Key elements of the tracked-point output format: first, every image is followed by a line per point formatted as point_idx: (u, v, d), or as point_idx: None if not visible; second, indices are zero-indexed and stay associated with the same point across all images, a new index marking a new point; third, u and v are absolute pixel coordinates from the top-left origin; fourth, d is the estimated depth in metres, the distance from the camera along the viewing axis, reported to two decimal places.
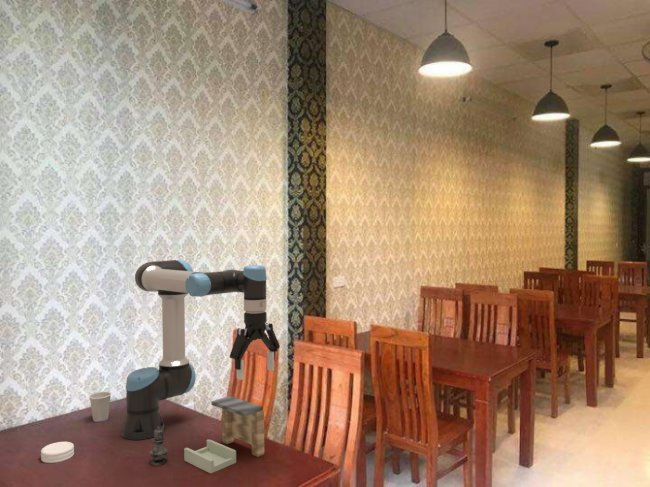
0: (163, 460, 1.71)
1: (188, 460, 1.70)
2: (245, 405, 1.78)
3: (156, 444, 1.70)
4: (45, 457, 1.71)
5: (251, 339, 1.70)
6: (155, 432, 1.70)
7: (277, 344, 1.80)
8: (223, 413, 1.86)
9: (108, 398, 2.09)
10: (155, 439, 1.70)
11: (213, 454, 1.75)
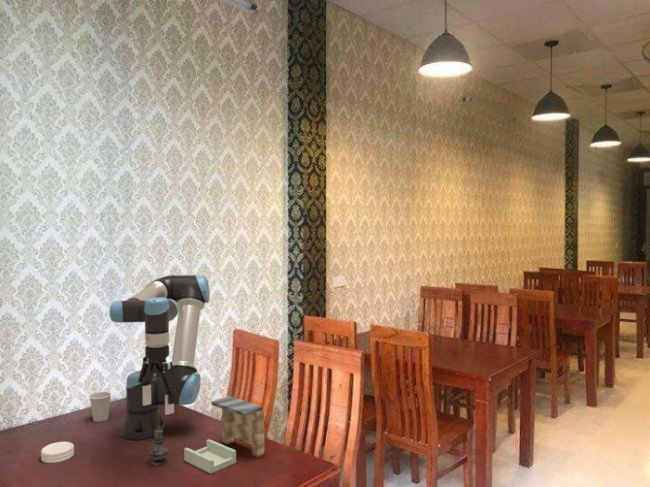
0: (163, 460, 1.71)
1: (188, 460, 1.70)
2: (245, 405, 1.78)
3: (156, 444, 1.70)
4: (45, 457, 1.71)
5: (147, 370, 1.71)
6: (155, 432, 1.70)
7: (170, 388, 1.64)
8: (223, 413, 1.86)
9: (108, 398, 2.09)
10: (155, 439, 1.70)
11: (213, 454, 1.75)
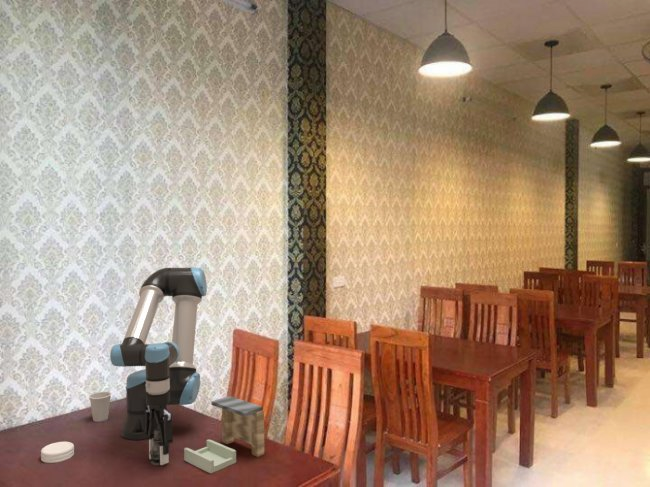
0: None
1: (188, 460, 1.70)
2: (245, 405, 1.78)
3: (156, 444, 1.70)
4: (45, 457, 1.71)
5: (150, 418, 1.71)
6: (155, 432, 1.70)
7: (165, 440, 1.66)
8: (223, 413, 1.86)
9: (108, 398, 2.09)
10: (155, 439, 1.70)
11: (213, 454, 1.75)
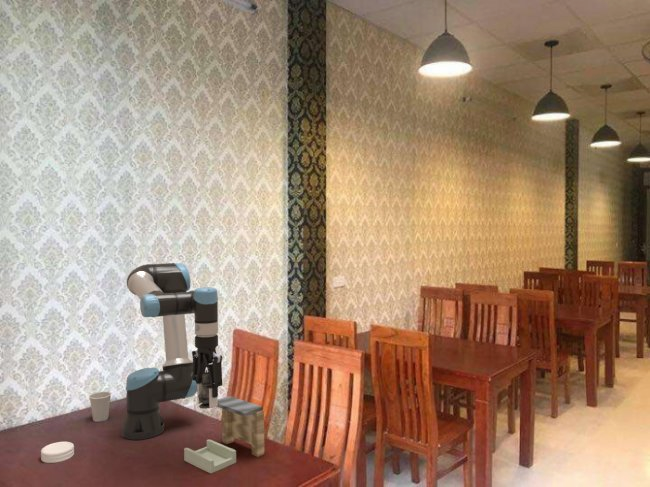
0: None
1: (188, 460, 1.70)
2: (245, 405, 1.78)
3: (204, 388, 1.69)
4: (45, 457, 1.71)
5: (198, 362, 1.70)
6: (204, 375, 1.69)
7: (215, 382, 1.65)
8: (223, 413, 1.86)
9: (108, 398, 2.09)
10: (204, 383, 1.69)
11: (213, 454, 1.75)
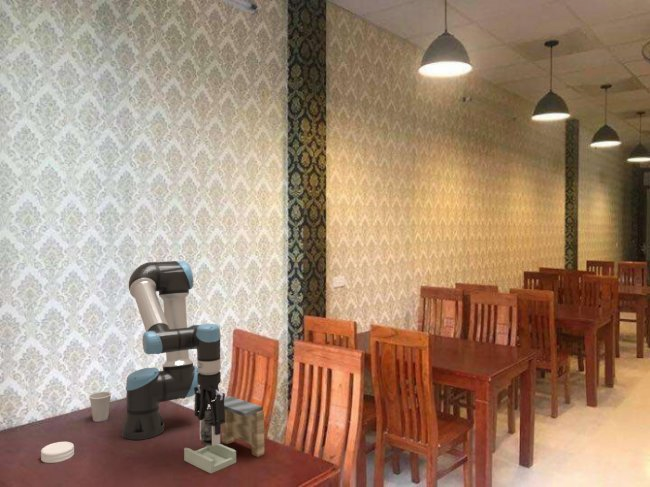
0: None
1: (188, 460, 1.70)
2: (245, 405, 1.78)
3: (207, 425, 1.69)
4: (45, 457, 1.71)
5: (201, 399, 1.71)
6: (206, 412, 1.69)
7: (217, 419, 1.66)
8: None
9: (108, 398, 2.09)
10: (206, 419, 1.69)
11: (213, 454, 1.75)
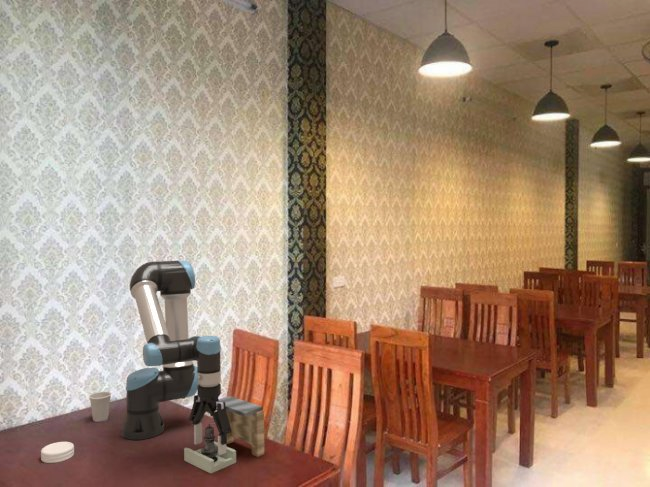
0: (214, 458, 1.71)
1: (188, 460, 1.70)
2: (245, 405, 1.78)
3: (207, 442, 1.69)
4: (45, 457, 1.71)
5: (199, 409, 1.71)
6: (206, 430, 1.70)
7: (223, 429, 1.64)
8: None
9: (108, 398, 2.09)
10: (206, 437, 1.70)
11: None
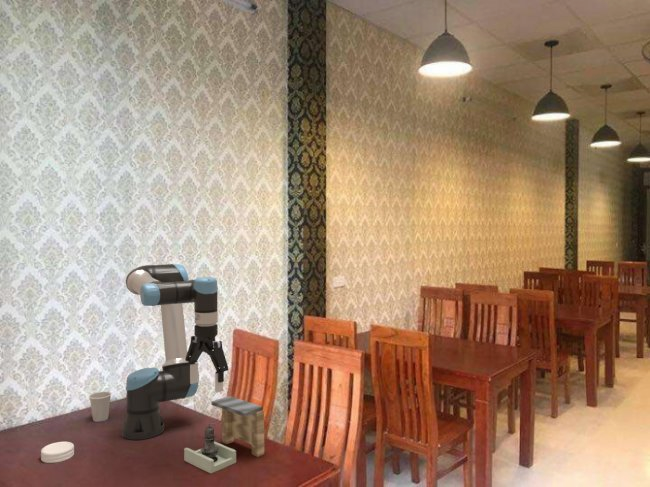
0: (214, 458, 1.71)
1: (188, 460, 1.70)
2: (245, 405, 1.78)
3: (207, 442, 1.69)
4: (45, 457, 1.71)
5: (196, 349, 1.73)
6: (206, 430, 1.70)
7: (220, 367, 1.65)
8: (223, 413, 1.86)
9: (108, 398, 2.09)
10: (206, 437, 1.70)
11: None
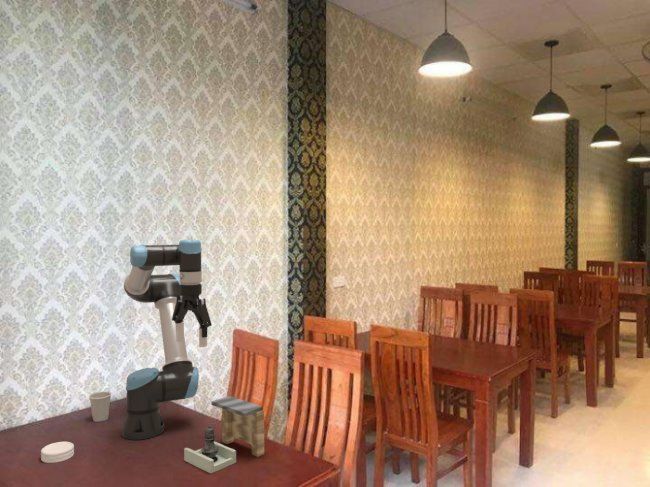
0: (214, 458, 1.71)
1: (188, 460, 1.70)
2: (245, 405, 1.78)
3: (207, 442, 1.69)
4: (45, 457, 1.71)
5: (181, 307, 1.82)
6: (206, 430, 1.70)
7: (203, 322, 1.75)
8: (223, 413, 1.86)
9: (108, 398, 2.09)
10: (206, 437, 1.70)
11: None
